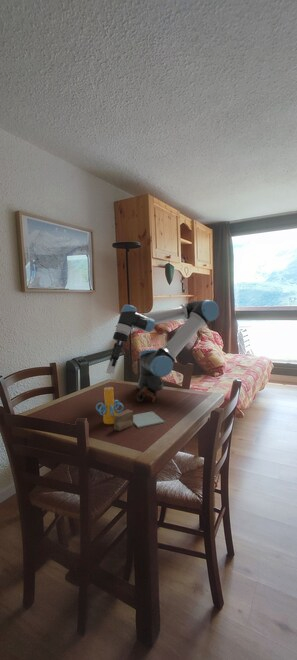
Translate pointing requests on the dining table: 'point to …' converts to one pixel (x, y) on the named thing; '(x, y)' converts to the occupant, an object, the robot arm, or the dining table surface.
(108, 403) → the yellow upright looped piece
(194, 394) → the dining table surface
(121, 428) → the tan block
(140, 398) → the pottery mug
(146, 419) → the mat
